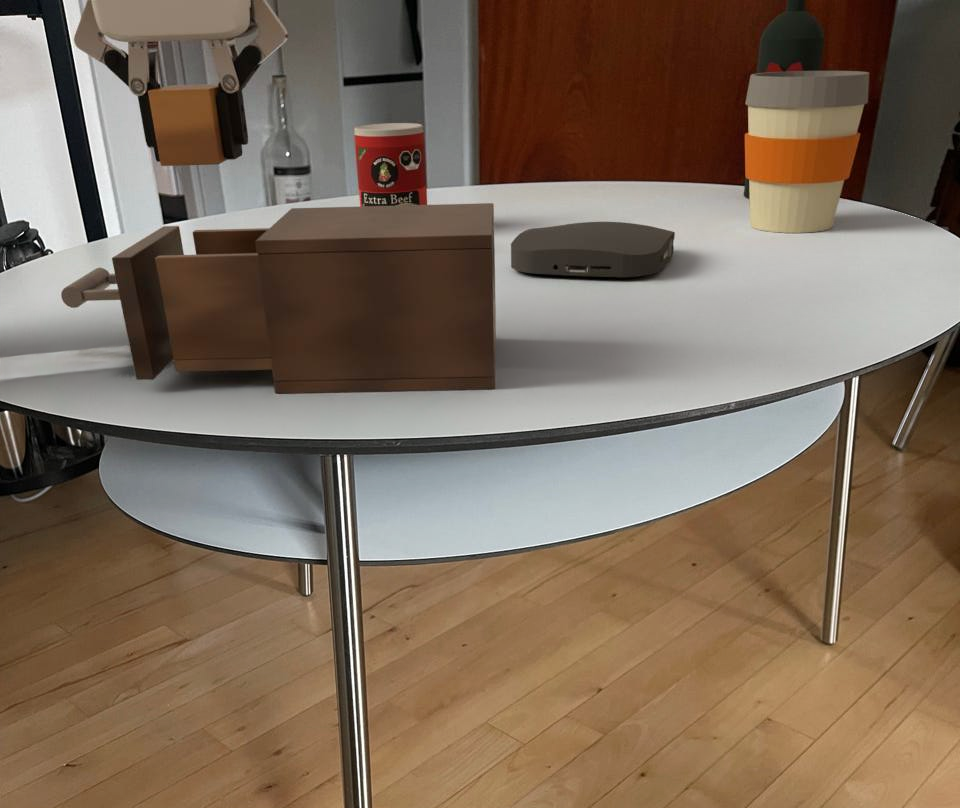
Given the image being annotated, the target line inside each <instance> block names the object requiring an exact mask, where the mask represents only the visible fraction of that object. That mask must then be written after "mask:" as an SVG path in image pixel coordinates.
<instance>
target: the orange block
mask: <svg viewBox="0 0 960 808" xmlns="http://www.w3.org/2000/svg"><path fill="white" fill-rule="evenodd" d="M218 84H219V83H205V84H204V83H201V84H172V85H167V86H163V87H162V86H161V88H158V89H153V90H149V91H148V94H149V100H150V106H151V112H152V118H153V123H154V129H155V135H156V141H157V147H158V152H159V158H160V162H159V163H160V166H161V167H181V166H209V165H210V166H213V165H214V166H215V165H220V164H222V163H224V162H226V161H228V160H227V158H225V157H224V155H223V148H222V141H221V134H220V127H219V120H218V113H217V106H216V96H217V94H219V86H218Z"/></svg>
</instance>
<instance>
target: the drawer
mask: <svg viewBox="0 0 960 808" xmlns="http://www.w3.org/2000/svg"><path fill="white" fill-rule="evenodd" d="M269 228H270V227H268V228H267V227H263V228H261V227H259V228H258V227H257V228H226V229H225V228H220V229H216V228H215V229H195V230H193V231H192V237H193V243H194V251H195V254H185V253H184V246H183V241H182V235H181V234H182V233H181V230H180V226H179V225H164V226H162V227H160V228H158V229H157V230H155V231H153V232H151V233H150V234H148V235H147V236H145V237H144V238H142V239H141V240H139V241H137V242H135V243H134V244H132V245H131V246H129V247H127V248H125V249H124V250H122V251H121V252H119V253H118V254H116V255H114V256H113V257H111V262H112V267H113V272H114V273H110V272H109V271H108V270H107V269H105V268H104V267H97V268H94V269H92V270H91V271H90V272H88V273H86V274H85V275H83V276H82V277H79V278H78V279H76V280H75V281H73V282H72V283H70V284H68V285H67V286H65V287H64V288H63V289H62V290H61V294H60V295H61V300H62V302H63V304H65V305H66V306H67V307H69V308H70V309H76V308H79V307H81V306H82V305H83V304H85V303H87V302H89V301H91V302H92V301H94V302H95V301H120V305H121V306H120V307H121V310H122V315H123V316H122V317H123V321H124V325H125V329H126V335H127V340H128V345H129V350H130V356H131V359H132V365H133V369H134V374H135V378H136V380H137V381H146V380H147V381H153V380H155V379H156V378H157V377H158V376H159V375H160V374H161V373H162V372H163V371H164V370H165V369H166V367H167V366H168V365H170V363H171V362H172V361H173V365H174V370H175V372H176V373H177V372H178V373H179V372H181V373H182V372H220V371H221V372H223V371H225V372H226V371H227V372H229V371H270V370H271V371H272V365H271V357H270V350H269V342H268V335H267V327H266V320H265V312H264V305H263V297H262V290H261V282H260V275H259V267H258V260H257V252H256V245H255V241H256V240H257V239H258V238H259V237H260V236H261V235H263V234H264V233H265V232H266V231H267V230H268V229H269ZM111 285H117V288H115V289H114V288H113V289H110V288H109V289H108V287H110V286H111Z"/></svg>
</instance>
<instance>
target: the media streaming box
mask: <svg viewBox="0 0 960 808" xmlns="http://www.w3.org/2000/svg"><path fill="white" fill-rule="evenodd" d="M675 234H676V233H675V231H674V230H673V231H672V230H668V229H665V228H661V227H656V226H651V225H645V224H639V223H633V222H632V223H631V222H621V221H586V222H574V223H565V224H561V225H560V224H559V225H553V226H552V225H551V226H545V227H534V228H533V227H532V228H528V229H525V230H523V231H521V232H520V233H519V234H517V235H516V236H515V238H514V239H513V240H512V241H511V243H510V267H511V269H512V270H515V271H517V272H521V273H526V274H534V275H547V276H563V277H564V276H565V277H587V278H591V277H592V278H618V279H619V278H620V279H621V278H622V279H627V278H636V277H646V276H650V275H654V274H657V273H659V272H661V271H662V270H663V269H664V268H665V266H666V265H667V264H668V263H669V262H670V260H671V259H672V257H673V256H674V249H675V247H674V241H675V236H676V235H675Z"/></svg>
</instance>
